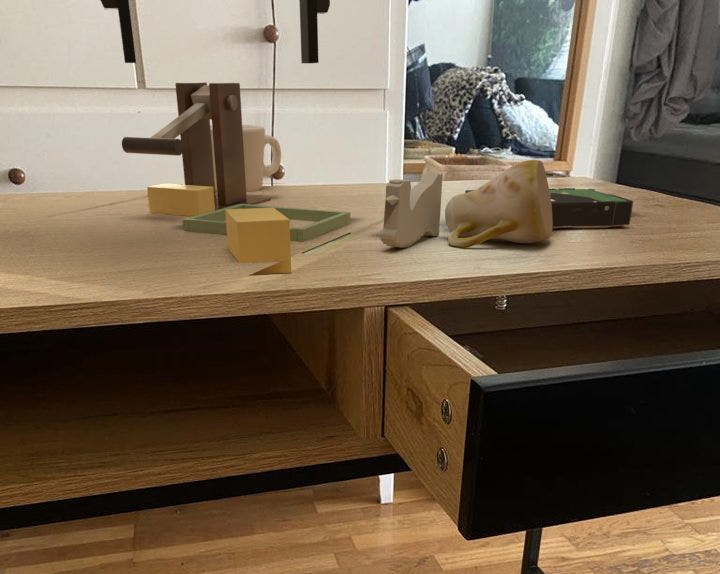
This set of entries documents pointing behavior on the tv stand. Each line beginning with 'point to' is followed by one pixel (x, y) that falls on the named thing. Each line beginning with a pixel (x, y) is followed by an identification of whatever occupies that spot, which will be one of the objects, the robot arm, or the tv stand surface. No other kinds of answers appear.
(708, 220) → the tv stand surface
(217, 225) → the dish
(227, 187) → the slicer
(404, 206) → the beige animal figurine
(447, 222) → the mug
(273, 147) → the cup
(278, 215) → the butter pat
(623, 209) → the disk drive
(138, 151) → the lever
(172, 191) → the butter block
